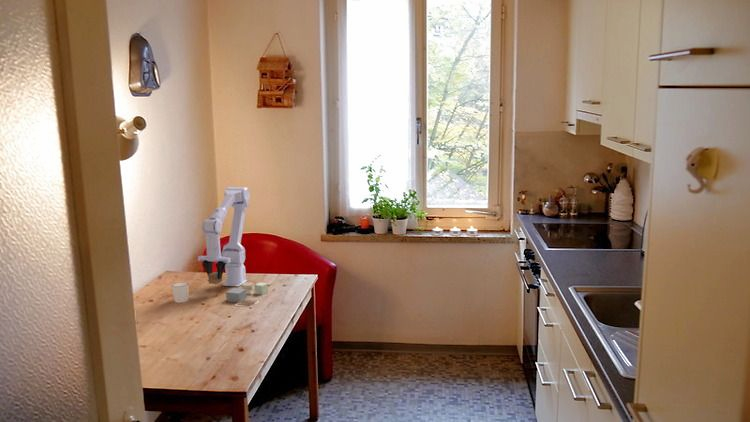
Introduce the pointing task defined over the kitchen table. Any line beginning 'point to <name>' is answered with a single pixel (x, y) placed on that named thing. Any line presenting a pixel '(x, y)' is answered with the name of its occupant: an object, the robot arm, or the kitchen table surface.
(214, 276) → the walnut cube
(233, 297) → the slate base
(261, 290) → the sage cube
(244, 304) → the swatch
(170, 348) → the kitchen table surface
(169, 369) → the kitchen table surface
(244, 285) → the birch cube
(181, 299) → the shot glass
